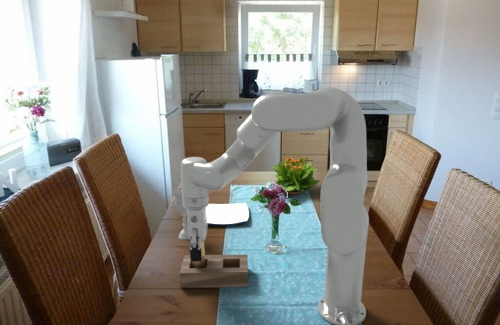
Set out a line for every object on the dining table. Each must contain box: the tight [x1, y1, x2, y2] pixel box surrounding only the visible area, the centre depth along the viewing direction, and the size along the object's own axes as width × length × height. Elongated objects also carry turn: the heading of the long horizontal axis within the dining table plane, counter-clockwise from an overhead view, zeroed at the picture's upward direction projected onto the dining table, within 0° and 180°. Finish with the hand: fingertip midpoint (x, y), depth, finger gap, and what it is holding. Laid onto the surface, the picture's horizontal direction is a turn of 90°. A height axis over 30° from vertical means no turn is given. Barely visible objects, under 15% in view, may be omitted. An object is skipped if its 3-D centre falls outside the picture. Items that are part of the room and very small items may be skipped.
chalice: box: [172, 187, 189, 240], centre depth 146 cm, size 7×7×18 cm
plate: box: [206, 202, 250, 227], centre depth 165 cm, size 20×20×3 cm
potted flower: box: [270, 156, 320, 195], centre depth 193 cm, size 25×24×18 cm
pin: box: [192, 237, 206, 268], centre depth 120 cm, size 4×4×12 cm
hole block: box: [179, 254, 249, 289], centre depth 122 cm, size 10×20×5 cm, turn 91°
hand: (198, 252), depth 120 cm, fingers open, 9 cm apart
